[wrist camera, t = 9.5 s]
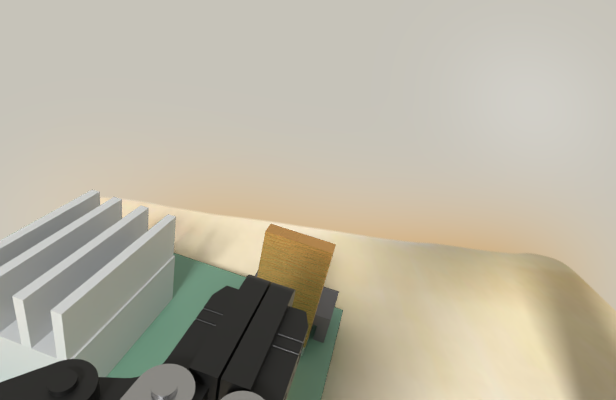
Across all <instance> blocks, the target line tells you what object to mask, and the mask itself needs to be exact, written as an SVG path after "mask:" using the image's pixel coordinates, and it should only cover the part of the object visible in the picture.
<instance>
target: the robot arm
mask: <svg viewBox="0 0 616 400" xmlns="http://www.w3.org/2000/svg"><path fill="white" fill-rule="evenodd" d="M295 291H296V290H295V289H292V288H289V287H286V286H283V285H280V284H277V283H274V282H273V283H272V282H271V281H267V280H264V279H261V278H258V277H255V276H252V275H248V276H247V277H246V279H245V280H244V282H243V283H242V285H241V286H240V288H239V289H236V288H233V287H230V286H225V287H224V288H222V289H220V290H219V291H217V292H216V293H214V294H213V295H212V296H211V297H210V299H209V300H208V302H207V303H206V304H205V306H204V308H203V310H201V312H200V313H199V314H198V316H197V317H196V320H194V321H193V323H192V324H191V326H190V327H189V328H188V330H187V331H186V333H185V334H184V335H183V337H182V338H181V340H180V341H179V342H178V344H177V345H176V347H175V348H174V349H173V351H172V352H171V354H170V355H169V356H168V358H167V359H166V360H165V362H164V363H163V364H161V365H157V366H155V367H152V368H150V369H149V370H147V371H146V372H144V373H143V374H142V375H141V376H139V377H133V378H112V377H98V372H97V370H96V368H95V367H94V366H93V365H92V364H91V363H90V362H88V361H85V360H81V359H67V360H62V361H59V362H56V363H53V364H50V365H47V366H45V367H42V368H39V369H36V370H33V371H31V372H28V373H25V374H22V375H19V376H16V377H14V378H11V379H8V380H5V381H2V382H0V400H286V399H287V396H288V393H289V390H290V387H291V384H292V381H293V378H294V375H295V372H296V369H297V366H298V363H299V360H300V357H301V353H302V349H303V345H304V342H305V338H306V334H307V330H308V320H307V314H306V312H305V311H302V310H299V309H296V308H293V307H292V305H293V301H294V296H295Z"/></svg>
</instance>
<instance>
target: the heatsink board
mask: <svg viewBox="0 0 616 400" xmlns="http://www.w3.org/2000/svg"><path fill="white" fill-rule="evenodd" d="M175 220H176V217H175V216H172V215H169V214H168V215H167V216H165V217H164V218H163V219H162V220H160V221H159V222H158V223H157V224H156V225H154V226H153V227H152V228H151V229H149V230H148V208H147V207H144V206H139V207H138V208H137V209H135V210H134V211H132V212H131V213H129V214H128V215H127V216H125V217H124V218H122V199H120V198H116V197H113V198H111V199H110V200H108V201H106V202H105V203H103V204H102V205H100V192H98V191H95V190H91V191H89V192H87V193H85V194H83V195H81V196H80V197H78V198H76V199H74V200H72V201H71V202H69V203H67V204H65V205H63V206H61V207H60V208H58V209H56V210H54V211H52V212H51V213H49V214H47V215H46V216H43V217H41V218H40V219H38V220H36V221H34V222H32V223H31V224H29V225H27V226H25V227H23V228H22V229H20V230H18V231H16V232H14V233H12V234H11V235H9V236H7V237H5V238H3V239H2V240H0V382H2V381H5V380H8V379H11V378H14V377H16V376H19V375H22V374H25V373H28V372H31V371H33V370H36V369H39V368H42V367H45V366H47V365H50V364H53V363H56V362H59V361H62V360H67V359H81V360H85V361H88V362H90V363H91V364H92V365H93V366H94V367H95V368H96V370H97V372H98V377H112V378H133V377H139V376H141V375H142V374H143V373H144V372H146V371H147V370H149V369H150V368H152V367H155V366H157V365H161V364H163V363H164V362H165V360H166V359H167V358H168V356H169V355H170V354H171V352H172V351H173V349H174V348H175V347H176V345H177V344H178V342H179V341H180V340H181V338H182V337H183V335H184V334H185V333H186V331H187V330H188V328H189V327H190V326H191V324H192V323H193V321H194V320H196V317H197V316H198V314H199V313H200V312H201V310H203V308H204V306H205V304H206V303H207V302H208V300H209V299H210V297H211V296H212V295H213V294H214V293H216V292H217V291H219V290H220V289H222V288H224V287H225V286H230V287H233V288H236V289H239V288H240V286H241V285H242V283H243V282H244V280H245V279H246V277H244V276H241V275H238V274H235V273H232V272H229V271H226V270H223V269H220V268H217V267H214V266H211V265H208V264H205V263H202V262H199V261H196V260H193V259H190V258H187V257H185V256H182V255H179V254H176V253H174V238H175ZM257 274H258V271H257V273H256V275H255V277H257ZM338 293H339V292H338V291H335V290H332V289H329V288H326V287H323V290H322V293H321V297H320V300H319V304H318V307H317V310H316V314H315V317H314V321H313V324H312V325H313V326H312V330H311V333H310V336H309V339H308V342H307V345H306V348H305V351H304V354H303V356H301V357H300V360H299V363H298V366H297V369H296V372H295V375H294V378H293V381H292V384H291V387H290V390H289V393H288V396H287V399H286V400H321V397H322V393H323V389H324V385H325V381H326V377H327V373H328V369H329V365H330V361H331V357H332V353H333V349H334V345H335V341H336V337H337V333H338V329H339V325H340V321H341V316H342V312H343V310H341V309H338V308H335V303H336V300H337V296H338Z"/></svg>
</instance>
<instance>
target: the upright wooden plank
mask: <svg viewBox="0 0 616 400" xmlns="http://www.w3.org/2000/svg"><path fill="white" fill-rule="evenodd" d="M335 246H336V244H333V243H330V242H326V241H323V240H320V239H317V238H314V237H311V236H308V235H304V234H301V233H298V232H295V231H292V230H289V229H286V228H282V227H279V226H276V225H273V224H270V226H269V227H268V229H267V230H266V232H265V237H264V242H263V248H262V253H261V258H260V264H259V269H258V274H257V277H258V278H261V279H264V280H267V281H271V282H272V283H273V282H274V283H277V284H280V285H283V286H286V287H289V288H292V289H295V290H296V291H295V296H294V301H293V305H292V307H293V308H296V309H299V310H302V311H305V312H306V314H307V320H308V330H307V334H306V338H305V342H304V345H303V349H302V353H301V356H303V354H304V351H305V348H306V345H307V342H308V339H309V336H310V333H311V330H312V326H313V325H312V324H313V321H314V317H315V314H316V310H317V307H318V304H319V300H320V297H321V293H322V290H323V286H324V283H325V280H326V276H327V273H328V269H329V266H330V263H331V259H332V256H333V252H334V249H335Z"/></svg>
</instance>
